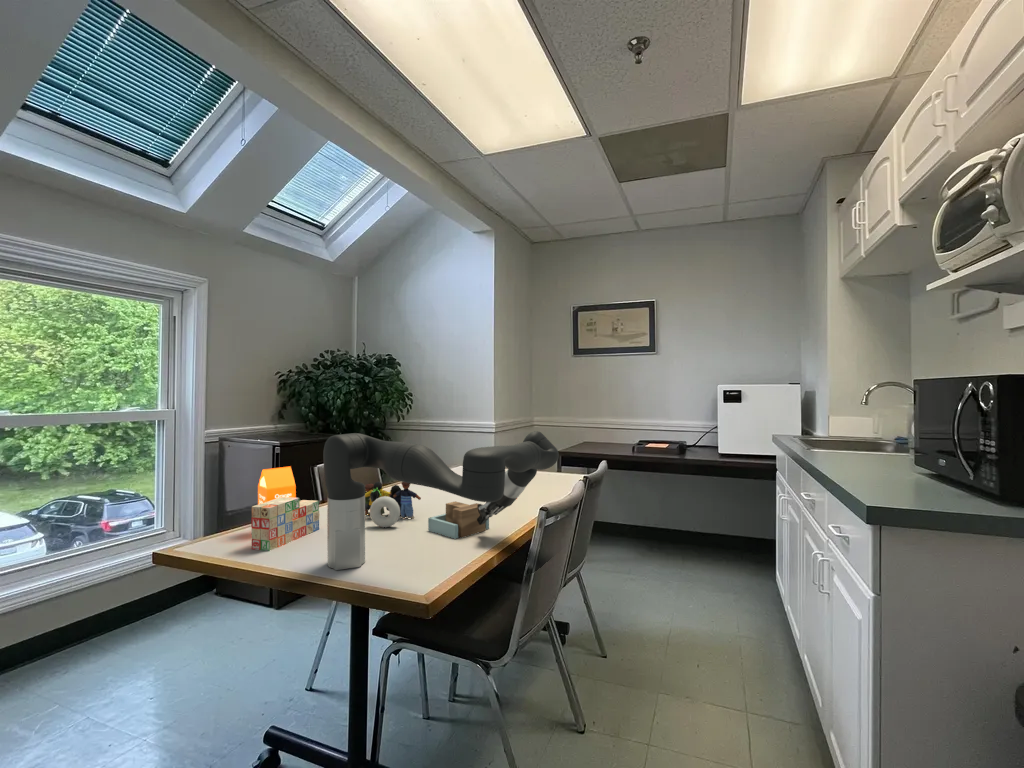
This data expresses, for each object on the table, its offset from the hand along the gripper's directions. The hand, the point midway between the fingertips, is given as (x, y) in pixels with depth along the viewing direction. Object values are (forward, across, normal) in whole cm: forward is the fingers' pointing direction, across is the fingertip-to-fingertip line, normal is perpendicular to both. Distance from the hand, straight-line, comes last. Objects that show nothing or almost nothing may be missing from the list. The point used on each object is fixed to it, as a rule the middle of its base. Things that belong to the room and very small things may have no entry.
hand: (480, 521), depth 150 cm
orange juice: (+39, -40, +33) cm, 65 cm away
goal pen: (+9, 0, +4) cm, 10 cm away
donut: (+24, -14, +18) cm, 33 cm away
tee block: (+8, 0, +3) cm, 9 cm away
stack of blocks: (+32, -41, +26) cm, 58 cm away
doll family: (+30, -6, +25) cm, 40 cm away
